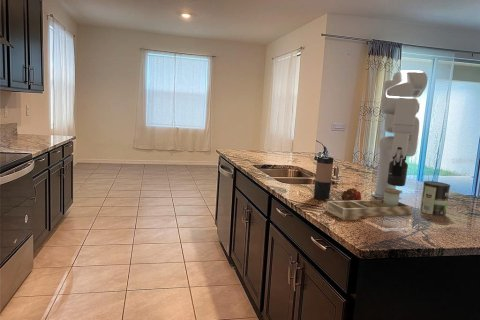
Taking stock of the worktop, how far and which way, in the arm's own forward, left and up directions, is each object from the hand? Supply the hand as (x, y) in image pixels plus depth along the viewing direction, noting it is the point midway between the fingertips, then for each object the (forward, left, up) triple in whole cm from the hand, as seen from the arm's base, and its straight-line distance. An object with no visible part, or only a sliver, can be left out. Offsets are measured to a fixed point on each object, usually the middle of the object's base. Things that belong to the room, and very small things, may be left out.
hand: (397, 174), depth 144 cm
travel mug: (+10, -36, -19) cm, 42 cm away
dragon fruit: (+2, -24, -19) cm, 30 cm away
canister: (-8, -10, -18) cm, 22 cm away
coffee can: (-27, -5, -19) cm, 33 cm away
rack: (+3, -10, -19) cm, 22 cm away
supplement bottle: (0, 0, -4) cm, 4 cm away
